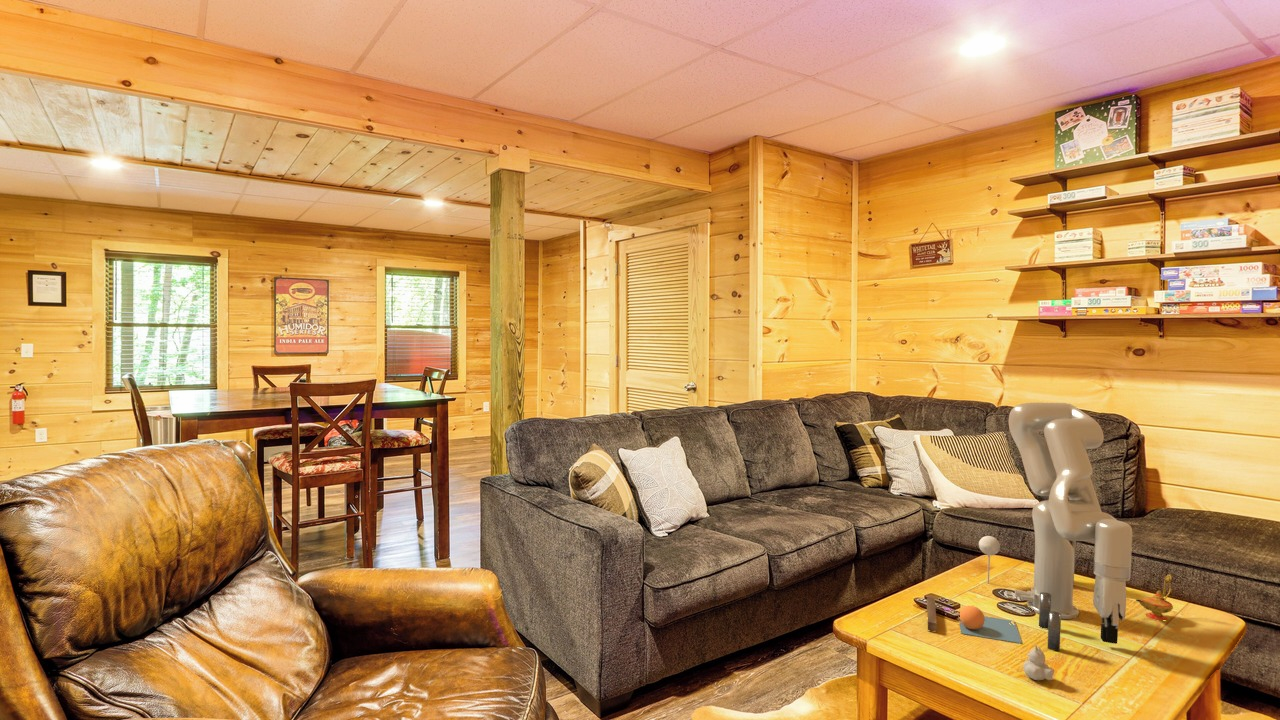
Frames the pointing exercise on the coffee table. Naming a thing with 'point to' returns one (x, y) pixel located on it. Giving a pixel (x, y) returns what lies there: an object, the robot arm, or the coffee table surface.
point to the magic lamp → (1157, 603)
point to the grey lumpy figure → (1037, 666)
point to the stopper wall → (931, 613)
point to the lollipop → (989, 548)
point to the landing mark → (995, 630)
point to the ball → (972, 617)
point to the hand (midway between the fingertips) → (1108, 641)
